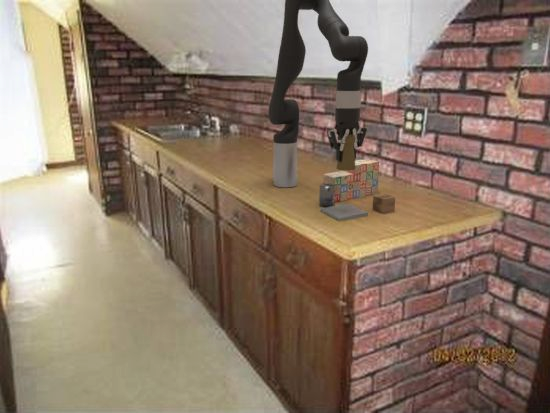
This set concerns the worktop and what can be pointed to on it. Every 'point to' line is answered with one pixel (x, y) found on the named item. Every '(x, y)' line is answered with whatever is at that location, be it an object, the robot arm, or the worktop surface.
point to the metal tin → (326, 195)
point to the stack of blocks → (354, 180)
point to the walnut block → (383, 203)
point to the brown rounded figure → (347, 154)
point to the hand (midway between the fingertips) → (346, 161)
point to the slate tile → (343, 212)
